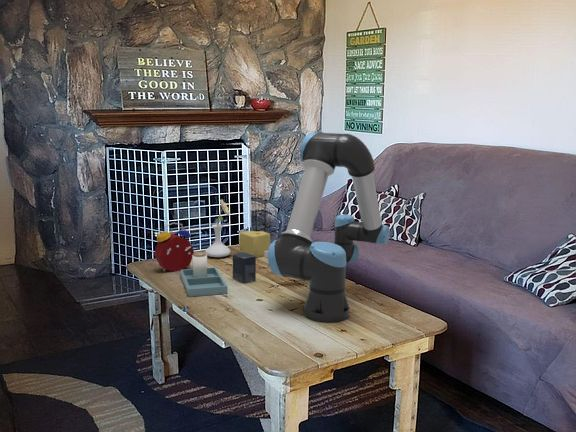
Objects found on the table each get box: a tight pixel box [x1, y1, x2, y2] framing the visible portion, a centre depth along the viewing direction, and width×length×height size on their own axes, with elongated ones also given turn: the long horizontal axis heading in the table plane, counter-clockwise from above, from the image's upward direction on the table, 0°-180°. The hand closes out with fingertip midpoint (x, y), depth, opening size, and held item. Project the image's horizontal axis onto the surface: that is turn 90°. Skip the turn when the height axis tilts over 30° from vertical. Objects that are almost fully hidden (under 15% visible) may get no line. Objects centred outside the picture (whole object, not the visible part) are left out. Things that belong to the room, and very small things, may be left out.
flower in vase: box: [204, 199, 232, 258], centre depth 258 cm, size 13×11×25 cm
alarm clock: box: [153, 222, 195, 272], centre depth 235 cm, size 15×9×20 cm, turn 123°
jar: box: [191, 251, 208, 278], centre depth 226 cm, size 6×6×10 cm
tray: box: [179, 266, 229, 298], centre depth 220 cm, size 24×14×3 cm, turn 17°
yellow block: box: [238, 230, 271, 258], centre depth 262 cm, size 10×11×10 cm
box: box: [232, 252, 257, 285], centre depth 225 cm, size 8×6×11 cm
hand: (269, 259), depth 227 cm, fingers open, 13 cm apart
